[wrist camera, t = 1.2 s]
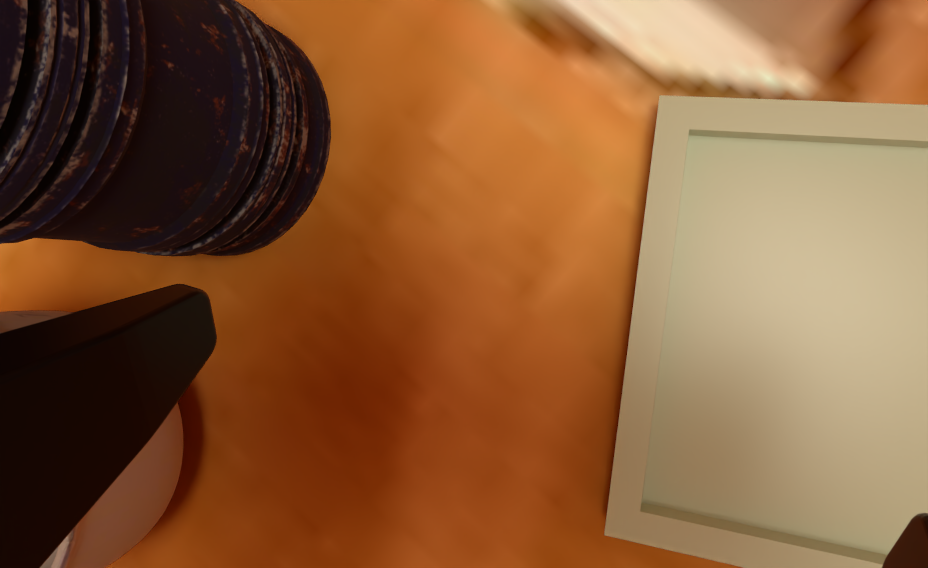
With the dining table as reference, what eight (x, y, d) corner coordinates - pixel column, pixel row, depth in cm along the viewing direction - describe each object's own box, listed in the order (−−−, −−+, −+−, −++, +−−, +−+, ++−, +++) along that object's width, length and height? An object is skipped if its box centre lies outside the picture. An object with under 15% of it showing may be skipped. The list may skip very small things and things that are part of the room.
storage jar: (302, -21, 26) (-136, -371, 12) (360, 219, 26) (-34, 143, 12) (108, 67, 29) (-426, -132, 15) (156, 285, 29) (-359, 290, 14)
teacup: (133, 254, 29) (-60, 244, 21) (273, 459, 27) (113, 529, 19) (-45, 441, 32) (-268, 491, 25) (67, 637, 30) (-138, 757, 23)
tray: (1117, 633, 19) (1153, 662, 17) (608, 519, 23) (604, 535, 22) (1197, 129, 18) (1242, 116, 17) (660, 107, 22) (659, 95, 21)
